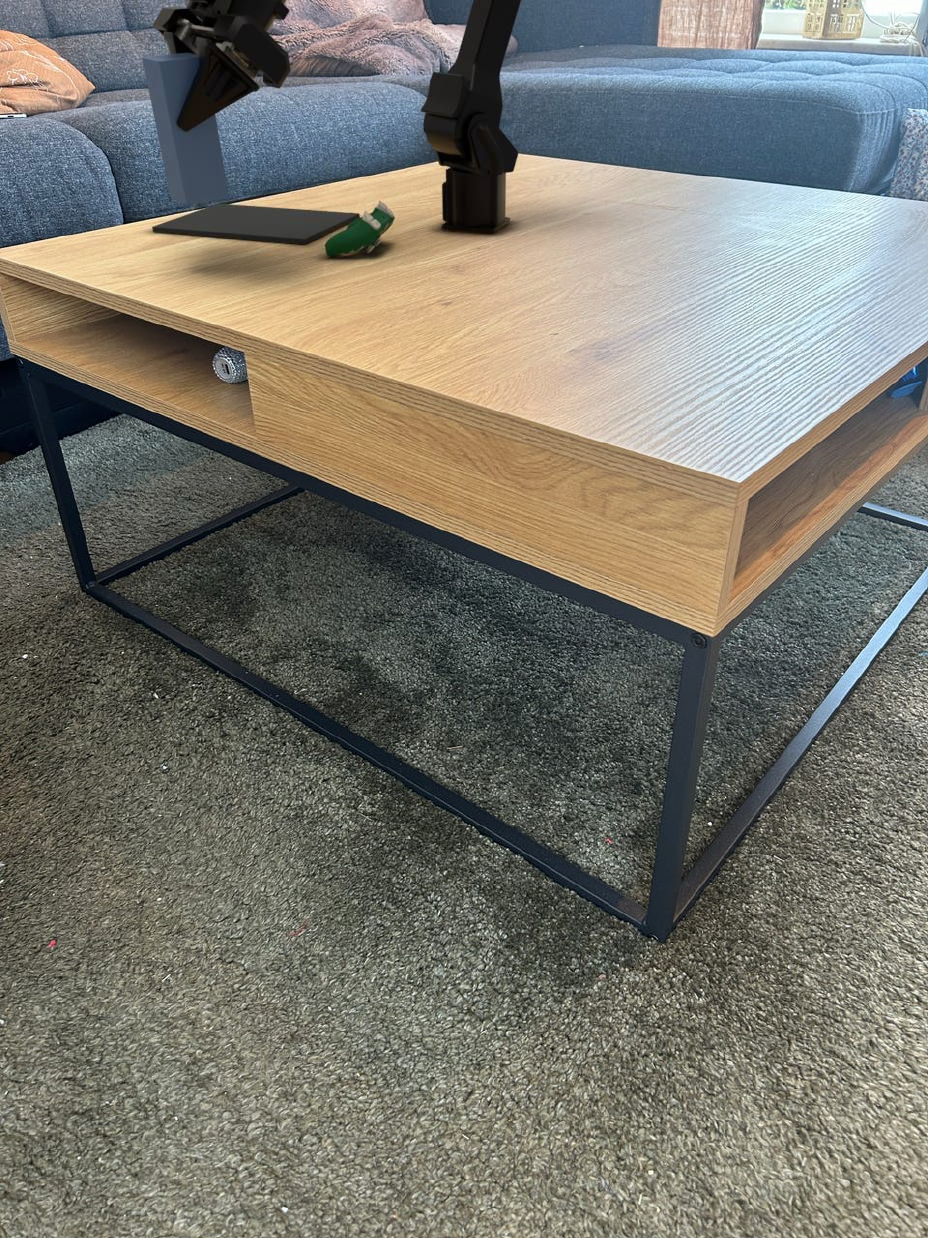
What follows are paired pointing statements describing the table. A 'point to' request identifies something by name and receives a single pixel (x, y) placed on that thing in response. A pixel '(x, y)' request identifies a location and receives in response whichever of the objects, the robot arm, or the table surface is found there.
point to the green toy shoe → (361, 233)
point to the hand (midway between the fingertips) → (171, 124)
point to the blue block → (184, 154)
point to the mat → (258, 223)
